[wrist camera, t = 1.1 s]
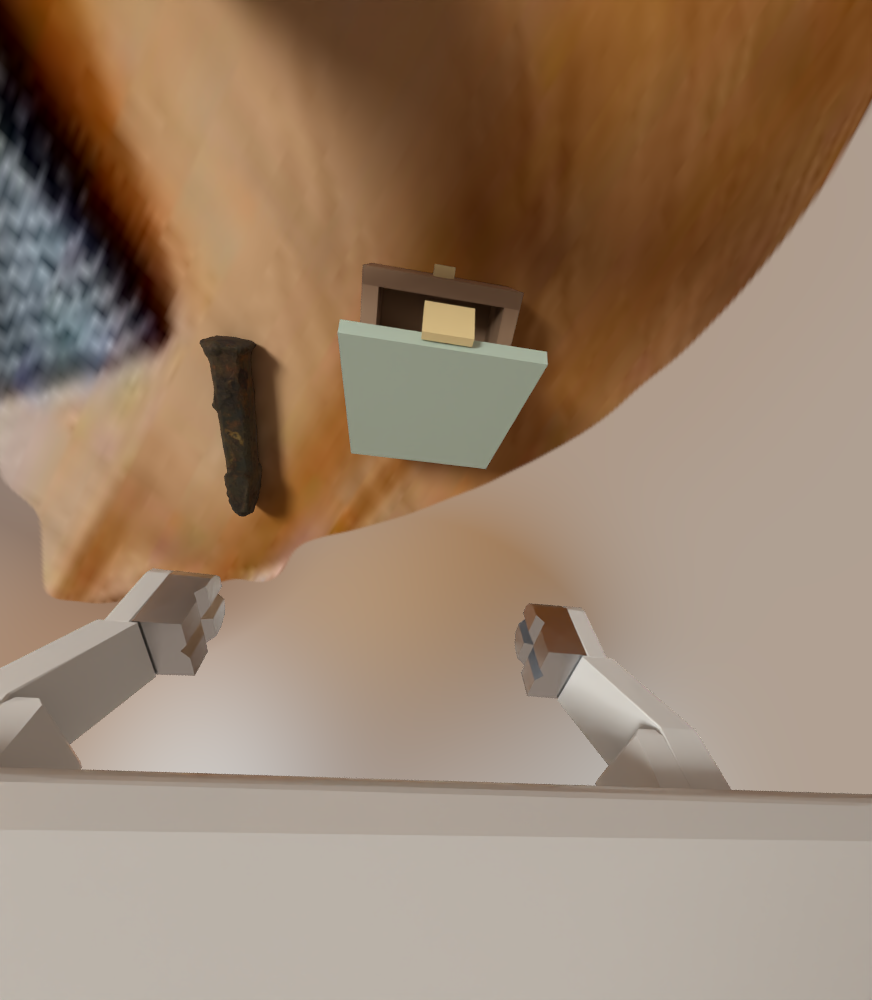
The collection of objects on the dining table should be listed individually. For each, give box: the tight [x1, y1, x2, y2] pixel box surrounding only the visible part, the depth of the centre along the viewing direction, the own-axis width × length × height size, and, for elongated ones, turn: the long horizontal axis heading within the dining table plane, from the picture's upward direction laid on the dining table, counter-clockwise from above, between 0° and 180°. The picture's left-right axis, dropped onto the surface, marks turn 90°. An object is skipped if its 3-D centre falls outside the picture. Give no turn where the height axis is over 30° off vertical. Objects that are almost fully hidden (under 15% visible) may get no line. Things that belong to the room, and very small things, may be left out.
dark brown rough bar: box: [200, 336, 262, 516], centre depth 39 cm, size 19×4×5 cm, turn 169°
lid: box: [338, 300, 548, 469], centre depth 29 cm, size 15×12×3 cm
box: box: [360, 263, 524, 346], centre depth 34 cm, size 15×12×6 cm
